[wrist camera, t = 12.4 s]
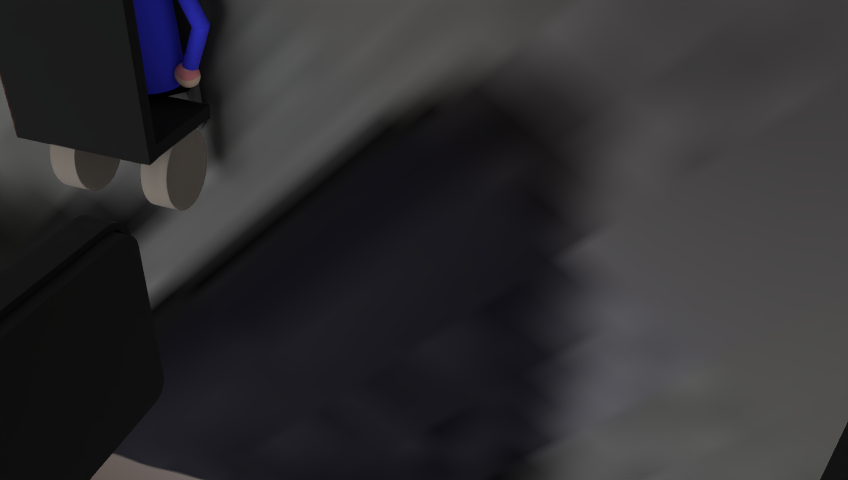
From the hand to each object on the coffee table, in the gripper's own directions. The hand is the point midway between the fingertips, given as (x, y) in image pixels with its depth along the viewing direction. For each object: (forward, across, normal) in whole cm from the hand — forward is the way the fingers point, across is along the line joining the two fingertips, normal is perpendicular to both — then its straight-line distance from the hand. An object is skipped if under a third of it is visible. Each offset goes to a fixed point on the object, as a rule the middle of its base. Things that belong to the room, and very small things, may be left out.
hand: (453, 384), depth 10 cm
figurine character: (+22, +19, +3) cm, 29 cm away
